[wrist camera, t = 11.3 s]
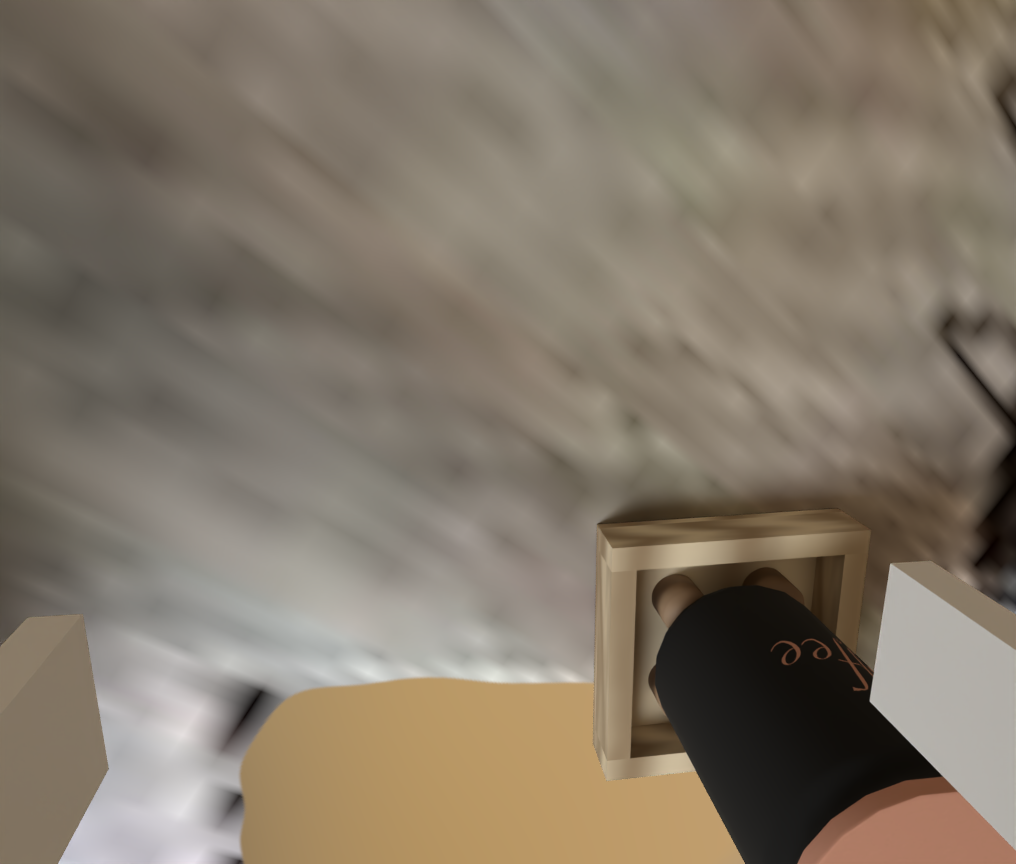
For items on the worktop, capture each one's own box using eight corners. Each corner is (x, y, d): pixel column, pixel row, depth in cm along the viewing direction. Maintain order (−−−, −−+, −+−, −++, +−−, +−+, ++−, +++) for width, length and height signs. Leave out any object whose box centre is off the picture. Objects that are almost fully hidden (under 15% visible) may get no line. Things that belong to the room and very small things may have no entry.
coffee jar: (843, 645, 48) (1091, 882, 31) (721, 756, 49) (893, 1046, 32) (740, 542, 45) (950, 741, 28) (612, 663, 46) (737, 927, 29)
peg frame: (592, 743, 51) (606, 780, 47) (597, 524, 47) (612, 548, 43) (814, 720, 53) (843, 754, 49) (838, 508, 49) (871, 530, 45)
